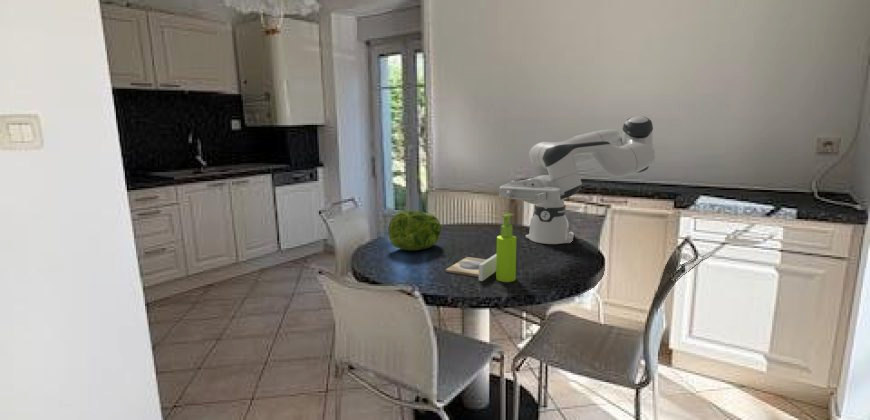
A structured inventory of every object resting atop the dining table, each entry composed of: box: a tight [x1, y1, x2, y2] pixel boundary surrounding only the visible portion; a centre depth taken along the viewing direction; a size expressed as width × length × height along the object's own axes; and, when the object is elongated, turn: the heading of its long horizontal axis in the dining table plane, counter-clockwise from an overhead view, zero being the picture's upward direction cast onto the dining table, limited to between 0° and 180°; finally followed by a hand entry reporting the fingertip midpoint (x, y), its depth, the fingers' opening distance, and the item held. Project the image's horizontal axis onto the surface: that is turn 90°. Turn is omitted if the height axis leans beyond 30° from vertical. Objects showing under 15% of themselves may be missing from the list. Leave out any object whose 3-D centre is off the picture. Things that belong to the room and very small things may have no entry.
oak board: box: [445, 256, 487, 278], centre depth 156 cm, size 16×12×1 cm
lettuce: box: [387, 210, 443, 252], centre depth 179 cm, size 16×21×15 cm
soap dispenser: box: [495, 212, 517, 283], centre depth 143 cm, size 6×7×20 cm
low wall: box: [478, 253, 496, 282], centre depth 151 cm, size 20×1×5 cm, turn 151°
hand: (522, 196), depth 151 cm, fingers open, 8 cm apart
